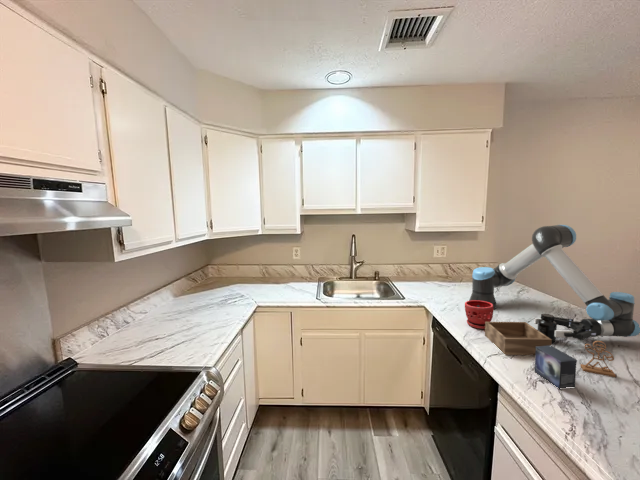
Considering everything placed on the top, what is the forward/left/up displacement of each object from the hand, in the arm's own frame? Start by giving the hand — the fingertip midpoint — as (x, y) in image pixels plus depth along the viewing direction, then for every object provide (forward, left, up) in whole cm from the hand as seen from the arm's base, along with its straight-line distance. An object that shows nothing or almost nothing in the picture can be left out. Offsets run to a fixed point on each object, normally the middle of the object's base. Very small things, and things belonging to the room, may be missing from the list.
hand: (544, 327), depth 130 cm
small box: (+31, -16, -7) cm, 35 cm away
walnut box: (+5, -15, -6) cm, 17 cm away
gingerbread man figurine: (+25, +3, -7) cm, 26 cm away
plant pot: (-16, -22, -7) cm, 28 cm away
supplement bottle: (0, +1, -7) cm, 7 cm away
